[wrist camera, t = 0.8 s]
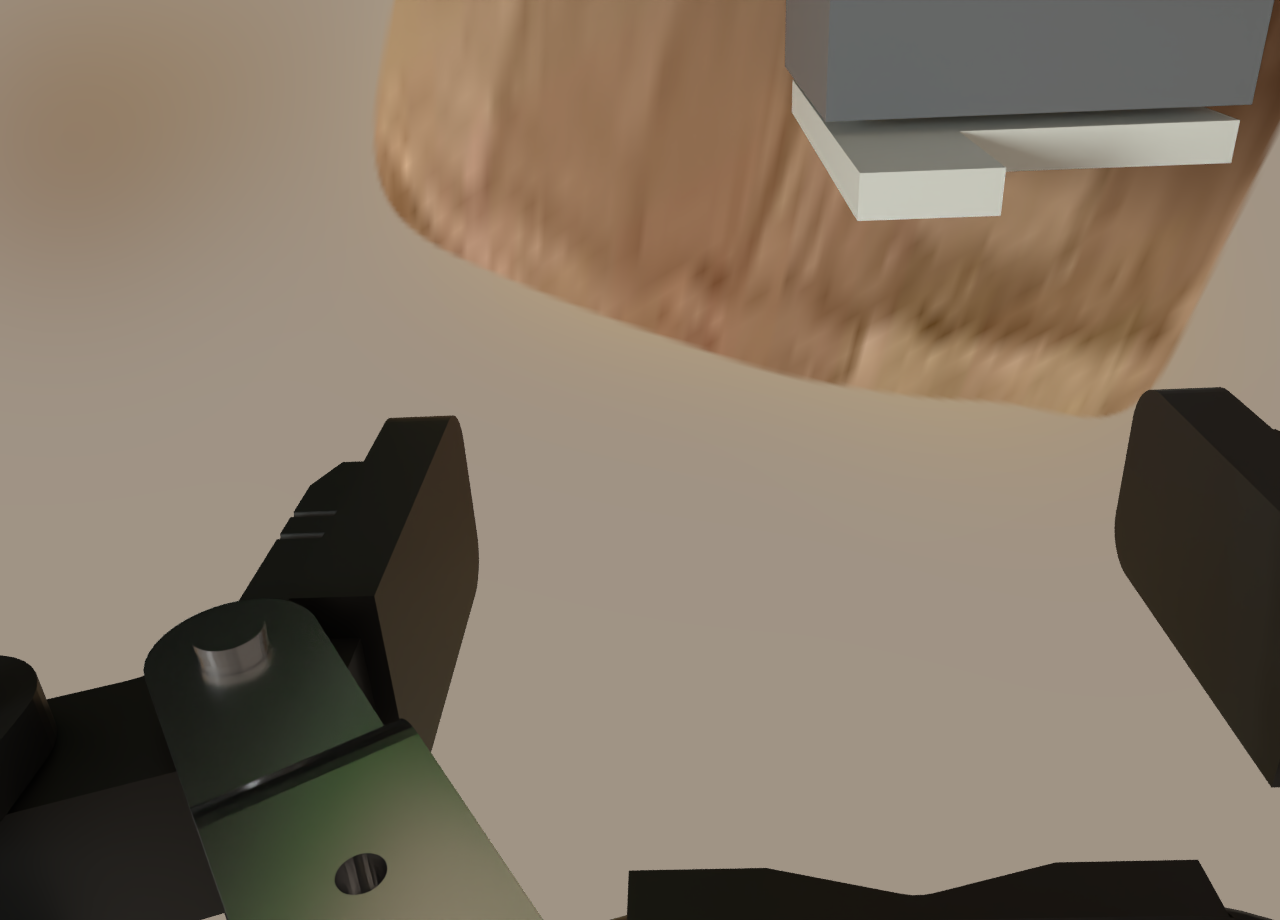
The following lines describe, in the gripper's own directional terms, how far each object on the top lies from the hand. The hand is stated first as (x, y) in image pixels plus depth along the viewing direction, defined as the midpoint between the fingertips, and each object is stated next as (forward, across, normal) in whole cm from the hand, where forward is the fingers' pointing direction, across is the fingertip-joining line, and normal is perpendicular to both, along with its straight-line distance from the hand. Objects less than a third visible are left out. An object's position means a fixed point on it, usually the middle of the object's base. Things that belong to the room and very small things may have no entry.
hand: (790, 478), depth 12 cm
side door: (+25, -7, 0) cm, 26 cm away
